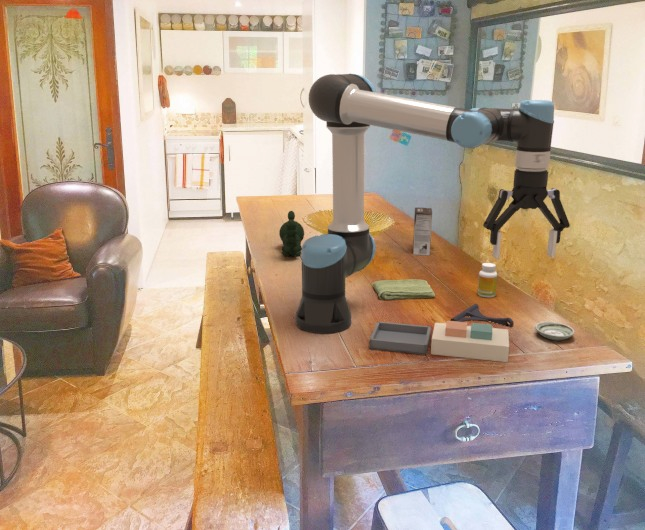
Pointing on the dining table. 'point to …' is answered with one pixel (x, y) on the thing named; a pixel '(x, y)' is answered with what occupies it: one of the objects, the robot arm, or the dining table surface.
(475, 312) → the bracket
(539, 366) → the dining table surface
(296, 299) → the dining table surface
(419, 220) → the coffee box
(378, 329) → the tray
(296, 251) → the toy figurine
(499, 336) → the cream board
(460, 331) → the terracotta tile
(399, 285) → the washcloth
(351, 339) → the dining table surface
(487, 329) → the green glazed tile
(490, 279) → the supplement bottle
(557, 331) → the saucer
